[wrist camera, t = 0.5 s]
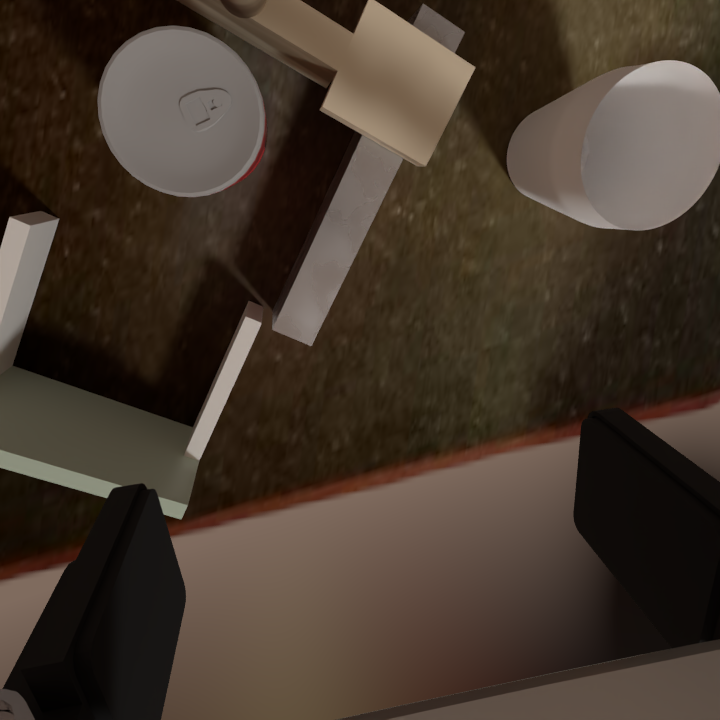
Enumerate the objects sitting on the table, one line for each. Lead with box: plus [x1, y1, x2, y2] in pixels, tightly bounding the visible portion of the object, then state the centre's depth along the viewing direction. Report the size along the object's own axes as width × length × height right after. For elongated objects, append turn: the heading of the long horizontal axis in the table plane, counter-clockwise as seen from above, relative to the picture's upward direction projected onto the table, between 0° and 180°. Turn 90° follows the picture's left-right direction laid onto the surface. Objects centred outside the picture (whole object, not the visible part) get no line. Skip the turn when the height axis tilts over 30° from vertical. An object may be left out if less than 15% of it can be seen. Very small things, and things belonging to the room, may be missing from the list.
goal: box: [0, 211, 263, 519], centre depth 34 cm, size 13×16×10 cm
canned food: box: [98, 25, 267, 197], centre depth 30 cm, size 8×8×11 cm
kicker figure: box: [177, 0, 476, 166], centre depth 25 cm, size 6×19×18 cm, turn 63°
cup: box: [507, 60, 720, 230], centre depth 33 cm, size 9×9×12 cm
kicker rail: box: [272, 4, 465, 346], centre depth 35 cm, size 22×3×5 cm, turn 153°
